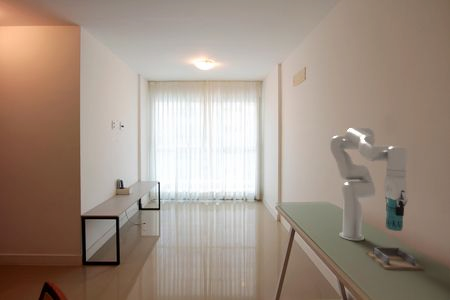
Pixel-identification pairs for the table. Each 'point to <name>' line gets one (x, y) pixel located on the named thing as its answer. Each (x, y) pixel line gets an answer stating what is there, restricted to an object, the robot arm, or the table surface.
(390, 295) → the table surface
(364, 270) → the table surface
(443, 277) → the table surface
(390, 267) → the tray
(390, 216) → the beverage bottle
